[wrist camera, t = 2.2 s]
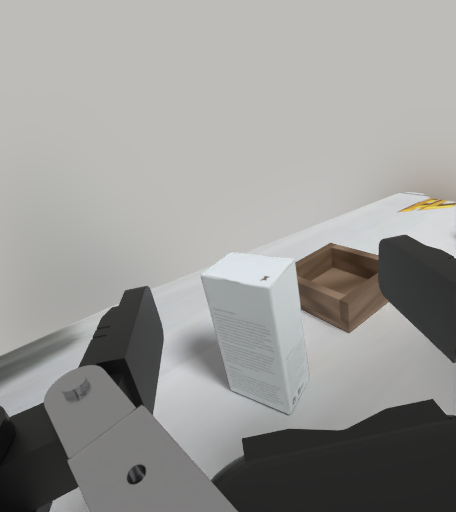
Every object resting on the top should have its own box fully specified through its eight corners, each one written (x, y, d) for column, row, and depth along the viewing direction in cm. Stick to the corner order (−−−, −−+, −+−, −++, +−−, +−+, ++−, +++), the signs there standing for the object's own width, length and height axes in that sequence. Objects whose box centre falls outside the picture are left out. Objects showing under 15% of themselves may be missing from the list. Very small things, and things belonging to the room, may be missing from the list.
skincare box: (311, 378, 28) (297, 257, 23) (290, 417, 25) (270, 288, 20) (252, 358, 31) (229, 249, 26) (228, 390, 28) (197, 274, 24)
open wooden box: (403, 289, 37) (404, 262, 35) (349, 333, 32) (348, 303, 31) (331, 266, 44) (330, 242, 43) (280, 298, 40) (276, 273, 38)
